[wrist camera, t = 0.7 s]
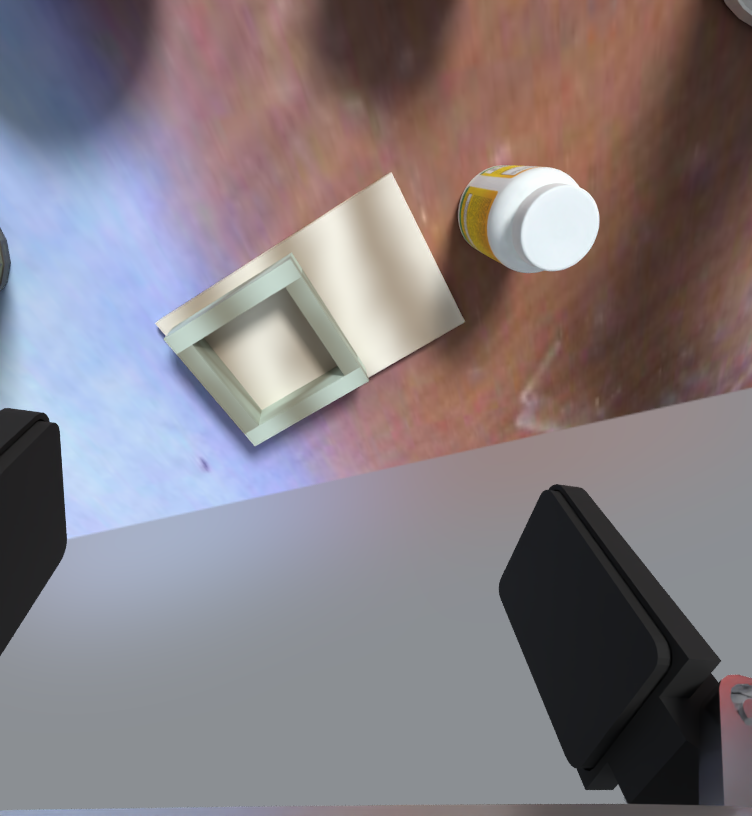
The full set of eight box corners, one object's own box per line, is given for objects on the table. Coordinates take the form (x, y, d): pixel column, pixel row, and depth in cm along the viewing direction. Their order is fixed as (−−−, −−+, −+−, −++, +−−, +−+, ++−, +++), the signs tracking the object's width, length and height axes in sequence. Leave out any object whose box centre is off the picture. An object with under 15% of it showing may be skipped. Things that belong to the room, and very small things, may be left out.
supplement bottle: (501, 145, 30) (577, 139, 21) (549, 210, 32) (634, 227, 24) (438, 211, 31) (485, 230, 23) (488, 269, 33) (548, 306, 25)
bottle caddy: (389, 172, 30) (397, 173, 27) (461, 318, 35) (475, 332, 32) (158, 319, 32) (143, 335, 29) (256, 437, 37) (252, 459, 34)
